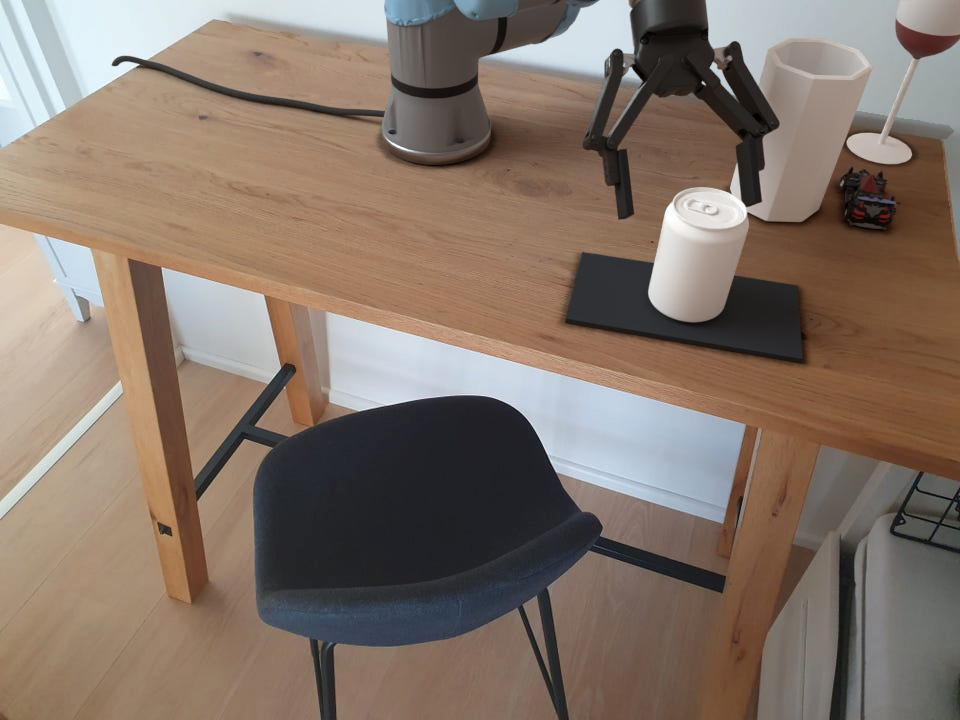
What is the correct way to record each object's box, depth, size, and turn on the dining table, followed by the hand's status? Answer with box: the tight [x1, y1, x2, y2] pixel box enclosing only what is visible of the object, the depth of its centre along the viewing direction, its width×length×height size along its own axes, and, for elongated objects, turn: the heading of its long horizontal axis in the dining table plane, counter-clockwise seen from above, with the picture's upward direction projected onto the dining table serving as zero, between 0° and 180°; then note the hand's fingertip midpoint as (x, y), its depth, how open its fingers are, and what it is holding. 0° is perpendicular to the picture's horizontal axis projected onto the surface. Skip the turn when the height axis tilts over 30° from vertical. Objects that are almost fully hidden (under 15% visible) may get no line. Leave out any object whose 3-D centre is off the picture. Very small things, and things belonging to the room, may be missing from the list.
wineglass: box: [846, 0, 960, 165], centre depth 99 cm, size 9×10×23 cm
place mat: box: [564, 251, 804, 364], centre depth 83 cm, size 24×12×1 cm, turn 76°
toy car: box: [839, 165, 902, 231], centre depth 96 cm, size 6×12×4 cm, turn 166°
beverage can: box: [648, 186, 750, 322], centre depth 78 cm, size 8×8×12 cm
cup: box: [729, 37, 873, 223], centre depth 91 cm, size 11×11×18 cm
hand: (689, 211), depth 78 cm, fingers open, 13 cm apart
